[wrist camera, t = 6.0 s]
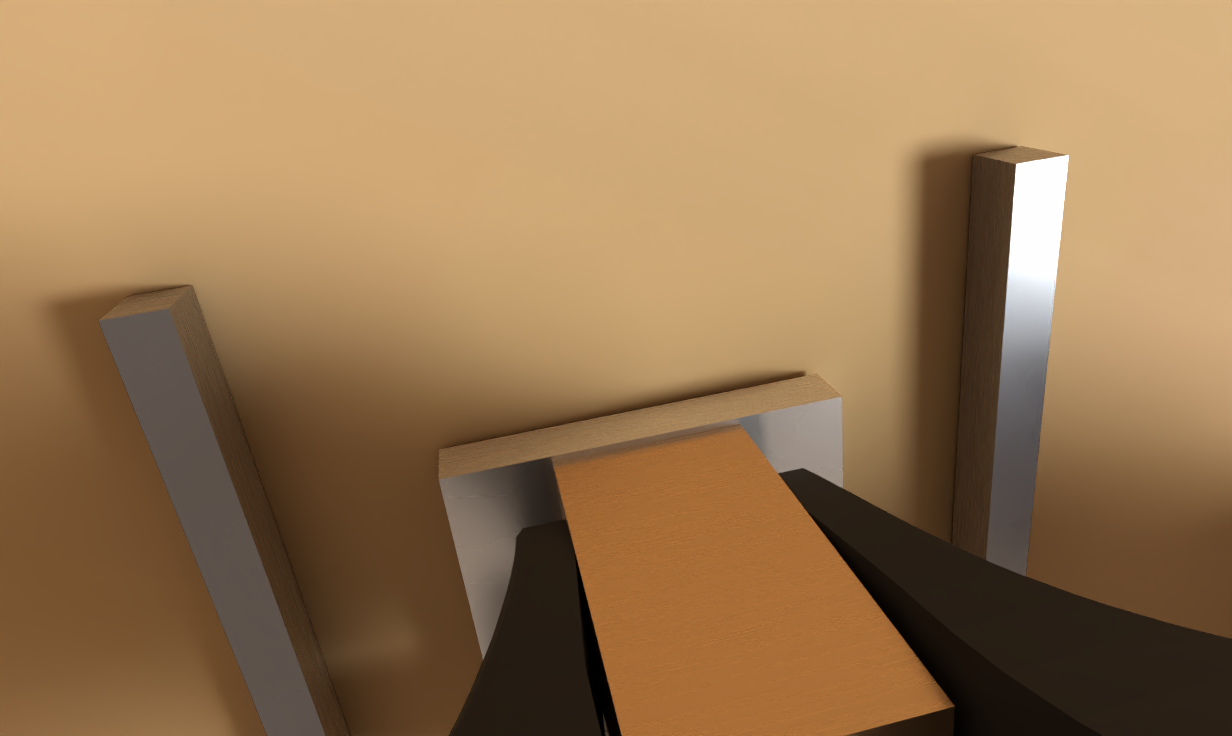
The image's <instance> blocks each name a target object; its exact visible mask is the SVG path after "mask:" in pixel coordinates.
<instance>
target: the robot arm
mask: <svg viewBox="0 0 1232 736" xmlns="http://www.w3.org/2000/svg"><path fill="white" fill-rule="evenodd" d="M778 474H779V476H780V477H781V478H782V480H783V481H784V482H785V484H786V485H787V486H788V488H789V489H790V490H791V492H792V493H793V494H794V495H795V497H796V498H797V499H798V501H799V502H800V503H801V505H802V506H803V507H804V509H805V510H806V511H807V513H808V514H809V515H810V517H811V518H812V519H813V520H814V522H815V523H816V524H817V526H818V527H819V528H820V530H821V531H822V532H823V534H824V535H825V536H826V538H827V539H828V540H829V542H830V543H831V544H832V545H833V547H834V548H835V549H836V551H837V552H838V553H839V555H840V556H841V557H842V559H843V560H844V561H845V563H846V564H847V565H848V567H849V568H850V569H851V570H852V572H853V573H854V574H855V576H856V577H857V578H858V580H859V581H860V582H861V584H862V585H863V586H864V588H865V589H866V590H867V592H868V593H869V594H870V595H871V597H872V598H873V599H874V601H875V602H876V603H877V605H878V606H879V607H880V609H881V610H882V611H883V613H884V614H885V615H886V617H887V618H888V619H889V620H890V622H891V623H892V624H893V626H894V627H895V628H896V630H897V631H898V632H899V634H900V635H901V636H902V638H903V639H904V640H905V642H906V643H907V644H908V645H909V647H910V648H911V649H912V651H913V652H914V653H915V655H916V656H917V657H918V659H919V660H920V661H921V663H922V664H923V665H924V667H925V668H926V669H927V670H928V672H929V673H930V674H931V676H932V677H933V678H934V680H935V681H936V682H937V684H938V685H939V686H940V688H941V689H942V690H943V692H944V693H945V694H946V695H947V697H948V698H949V699H950V701H951V702H952V703H953V705H954V706H955V713H954V729H953V736H1232V639H1230V638H1225V637H1221V636H1217V635H1213V634H1209V633H1205V632H1201V631H1197V630H1193V629H1189V628H1185V627H1181V626H1177V625H1173V624H1170V623H1166V622H1163V621H1159V620H1156V619H1153V618H1149V617H1146V616H1142V615H1139V614H1135V613H1132V612H1129V611H1125V610H1122V609H1118V608H1115V607H1111V606H1108V605H1105V604H1102V603H1099V602H1096V601H1093V600H1090V599H1087V598H1084V597H1081V596H1078V595H1075V594H1072V593H1069V592H1067V591H1064V590H1061V589H1058V588H1056V587H1053V586H1050V585H1048V584H1045V583H1042V582H1039V581H1037V580H1034V579H1031V578H1029V577H1026V576H1023V575H1020V574H1018V573H1016V572H1013V571H1011V570H1008V569H1006V568H1003V567H1001V566H998V565H996V564H994V563H991V562H989V561H987V560H985V559H982V558H980V557H978V556H976V555H974V554H971V553H969V552H967V551H965V550H962V549H960V548H958V547H956V546H953V545H951V544H949V543H947V542H945V541H943V540H941V539H939V538H937V537H935V536H933V535H930V534H928V533H926V532H924V531H922V530H920V529H918V528H916V527H914V526H912V525H910V524H909V523H907V522H905V521H903V520H901V519H899V518H897V517H895V516H893V515H891V514H889V513H887V512H886V511H884V510H882V509H880V508H878V507H876V506H874V505H872V504H871V503H869V502H867V501H865V500H863V499H861V498H859V497H858V496H856V495H854V494H852V493H850V492H848V491H847V490H845V489H843V488H841V487H839V486H837V485H836V484H834V483H832V482H830V481H828V480H826V479H824V478H822V477H821V476H819V475H817V474H815V473H813V472H811V471H809V470H806V469H804V468H800V469H795V470H791V471H786V472H782V473H778ZM449 736H606V734H605V726H604V718H603V711H602V705H601V699H600V694H599V688H598V682H597V676H596V671H595V665H594V659H593V653H592V648H591V642H590V636H589V630H588V625H587V619H586V613H585V607H584V602H583V596H582V590H581V584H580V579H579V573H578V567H577V562H576V556H575V550H574V547H573V543H572V540H571V536H570V533H569V530H568V527H567V523H566V520H565V519H564V520H559V521H555V522H550V523H545V524H541V525H536V526H532V527H527V528H523V529H522V530H521V531H520V533H519V534H518V535H517V537H516V548H515V556H514V562H513V567H512V572H511V576H510V580H509V584H508V588H507V592H506V595H505V599H504V602H503V605H502V608H501V611H500V615H499V618H498V621H497V624H496V627H495V630H494V633H493V636H492V639H491V642H490V644H489V647H488V649H487V652H486V654H485V657H484V659H483V662H482V664H481V667H480V669H479V672H478V674H477V677H476V679H475V682H474V684H473V686H472V689H471V691H470V693H469V695H468V697H467V700H466V702H465V704H464V706H463V708H462V710H461V712H460V715H459V717H458V719H457V721H456V723H455V725H454V727H453V728H452V730H451V732H450V734H449Z"/></svg>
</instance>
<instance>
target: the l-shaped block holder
mask: <svg viewBox="0 0 1232 736" xmlns="http://www.w3.org/2000/svg"><path fill="white" fill-rule="evenodd" d="M800 468H804V469H806V470H809V471H811V472H813V473H815V474H817V475H819V476H821V477H822V478H824V479H826V480H828V481H830V482H832V483H834V484H836V485H837V486H839V487H841V488H843V441H842V396H841V395H840V394H838V393H837V392H836V391H835V390H834V389H833V388H832V387H831V386H830V385H829V384H827V383H826V382H825V381H824V380H823V379H822V378H821V377H820V376H819V375H818V374H813V375H808V376H803V377H798V378H793V379H788V380H783V381H778V382H773V383H768V384H763V385H758V386H753V387H748V388H743V389H738V390H733V391H728V392H723V393H718V394H713V395H708V396H703V397H698V398H693V399H688V400H683V401H678V402H674V403H669V404H664V405H659V406H654V407H649V408H644V409H639V410H634V411H629V412H624V413H619V414H614V415H609V416H604V417H599V418H594V419H589V420H584V421H579V422H574V423H569V424H564V425H559V426H554V427H549V428H544V429H539V430H534V431H529V432H524V433H519V434H514V435H509V436H504V437H499V438H494V439H489V440H484V441H479V442H474V443H469V444H464V445H459V446H454V447H449V448H444V449H439V483H440V487H441V491H442V495H443V500H444V504H445V508H446V512H447V516H448V520H449V524H450V528H451V532H452V536H453V540H454V544H455V548H456V552H457V556H458V560H459V564H460V569H461V573H462V577H463V581H464V585H465V589H466V593H467V597H468V601H469V605H470V609H471V613H472V617H473V621H474V625H475V629H476V633H477V638H478V642H479V646H480V650H481V654H482V658H483V659H484V657H485V654H486V652H487V649H488V647H489V644H490V642H491V639H492V636H493V633H494V630H495V627H496V624H497V621H498V618H499V615H500V611H501V608H502V605H503V602H504V599H505V595H506V592H507V588H508V584H509V580H510V576H511V572H512V567H513V562H514V556H515V548H516V537H517V535H518V534H519V533H520V531H521V530H522V529H523V528H527V527H532V526H536V525H541V524H545V523H550V522H555V521H559V520H564V519H565V520H566V523H567V527H568V530H569V533H570V536H571V540H572V543H573V547H574V550H575V556H576V562H577V567H578V573H579V579H580V584H581V590H582V596H583V602H584V607H585V613H586V619H587V625H588V630H589V636H590V642H591V648H592V653H593V659H594V665H595V671H596V676H597V682H598V688H599V694H600V699H601V705H602V711H603V718H604V726H605V734H606V736H953V729H954V713H955V706H954V705H953V703H952V702H951V701H950V699H949V698H948V697H947V695H946V694H945V693H944V692H943V690H942V689H941V688H940V686H939V685H938V684H937V682H936V681H935V680H934V678H933V677H932V676H931V674H930V673H929V672H928V670H927V669H926V668H925V667H924V665H923V664H922V663H921V661H920V660H919V659H918V657H917V656H916V655H915V653H914V652H913V651H912V649H911V648H910V647H909V645H908V644H907V643H906V642H905V640H904V639H903V638H902V636H901V635H900V634H899V632H898V631H897V630H896V628H895V627H894V626H893V624H892V623H891V622H890V620H889V619H888V618H887V617H886V615H885V614H884V613H883V611H882V610H881V609H880V607H879V606H878V605H877V603H876V602H875V601H874V599H873V598H872V597H871V595H870V594H869V593H868V592H867V590H866V589H865V588H864V586H863V585H862V584H861V582H860V581H859V580H858V578H857V577H856V576H855V574H854V573H853V572H852V570H851V569H850V568H849V567H848V565H847V564H846V563H845V561H844V560H843V559H842V557H841V556H840V555H839V553H838V552H837V551H836V549H835V548H834V547H833V545H832V544H831V543H830V542H829V540H828V539H827V538H826V536H825V535H824V534H823V532H822V531H821V530H820V528H819V527H818V526H817V524H816V523H815V522H814V520H813V519H812V518H811V517H810V515H809V514H808V513H807V511H806V510H805V509H804V507H803V506H802V505H801V503H800V502H799V501H798V499H797V498H796V497H795V495H794V494H793V493H792V492H791V490H790V489H789V488H788V486H787V485H786V484H785V482H784V481H783V480H782V478H781V477H780V476H779V474H778V473H782V472H786V471H791V470H795V469H800Z"/></svg>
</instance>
